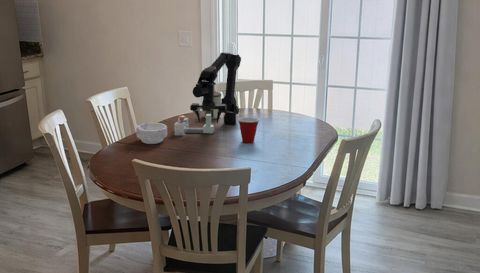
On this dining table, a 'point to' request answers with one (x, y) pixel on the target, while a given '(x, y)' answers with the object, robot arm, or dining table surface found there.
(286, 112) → the dining table surface
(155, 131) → the paper bowls
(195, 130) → the rail
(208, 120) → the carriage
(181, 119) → the orange knob lever
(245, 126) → the plastic cup
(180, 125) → the grey blocky piece
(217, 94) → the coffee can
